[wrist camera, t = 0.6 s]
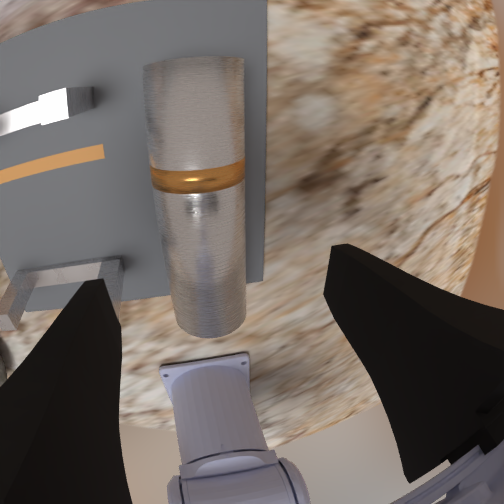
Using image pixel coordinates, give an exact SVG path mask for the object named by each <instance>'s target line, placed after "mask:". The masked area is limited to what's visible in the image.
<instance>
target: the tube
mask: <svg viewBox="0 0 504 504" xmlns="http://www.w3.org/2000/svg"><path fill="white" fill-rule="evenodd" d="M142 70H143V93H144V109H145V122H146V134H147V145H148V155H149V166H150V174H151V182H152V188H153V196H154V203H155V210H156V217H157V223H158V229H159V235H160V241H161V247H162V253H163V258H164V264H165V269H166V274H167V279H168V284H169V289H170V294H171V298H172V303H173V308H174V312H175V317H176V321H177V323H178V325H179V326H180V327H181V329H183V330H184V331H185V332H187V333H188V334H190V335H193V336H196V337H200V338H217V337H221V336H225V335H227V334H230V333H232V332H233V331H235V330H236V329H237V328H239V327H240V326H241V324H242V323H243V322H244V320H245V317H246V243H245V113H244V59H243V58H239V57H227V56H204V57H188V58H178V59H170V60H164V61H158V62H154V63H150V64H146V65H144V66H142Z"/></svg>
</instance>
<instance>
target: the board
mask: <svg viewBox="0 0 504 504" xmlns="http://www.w3.org/2000/svg"><path fill="white" fill-rule="evenodd" d="M204 56H227V57H239V58H243V59H244V113H245V243H246V284H247V283H253V282H259V281H263V260H264V219H265V169H266V96H267V0H149V1H141V2H134V3H128V4H123V5H117V6H112V7H107V8H103V9H98V10H94V11H90V12H86V13H82V14H78V15H75V16H71V17H68V18H64V19H61V20H58V21H55V22H52V23H49V24H46V25H43V26H41V27H38V28H35V29H33V30H30V31H27V32H25V33H22V34H20V35H18V36H15V37H13V38H11V39H9V40H6V41H4V42H2V43H0V115H1V114H4V113H6V112H9V111H11V110H14V109H17V108H19V107H22V106H25V105H28V104H31V103H34V102H37V101H39V96H41V95H44V94H47V93H50V92H54V91H57V90H60V89H64V88H73V87H93V86H94V99H95V109H92V110H89V111H86V112H83V113H80V114H77V115H75V116H72V117H69V118H66V119H62V120H58V121H55V122H51V123H48V124H44V125H42V123H38V124H34V125H31V126H28V127H25V128H22V129H19V130H16V131H13V132H10V133H8V134H5V135H2V136H0V258H1V260H2V263H3V265H4V267H5V270H6V272H7V274H8V276H9V279H10V281H11V280H12V279H13V277H14V275H15V273H16V272H17V271H18V270H25V269H31V268H37V267H43V266H50V265H56V264H63V263H69V262H76V261H82V260H89V259H96V258H102V257H109V256H116V255H121V257H122V261H123V265H124V268H125V275H124V282H123V289H122V297H121V301H129V300H137V299H144V298H152V297H159V296H166V295H171V294H170V289H169V284H168V279H167V274H166V269H165V264H164V258H163V253H162V247H161V241H160V235H159V229H158V223H157V217H156V210H155V203H154V196H153V188H152V182H151V174H150V166H149V155H148V145H147V134H146V122H145V109H144V93H143V70H142V66H144V65H146V64H150V63H154V62H158V61H164V60H170V59H178V58H188V57H204ZM84 282H85V281H81V282H73V283H66V284H58V285H51V286H43V287H36V288H34V289H33V291H32V294H31V296H30V298H29V300H28V303H27V305H26V307H25V311H26V312H32V311H42V310H52V309H61V308H64V307H65V306H66V305H67V303H68V302H69V301H70V299H71V298H72V297H73V295H74V294H75V293H76V291H77V290H78V289H79V288H80V286H81V285H82V284H83V283H84Z"/></svg>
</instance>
